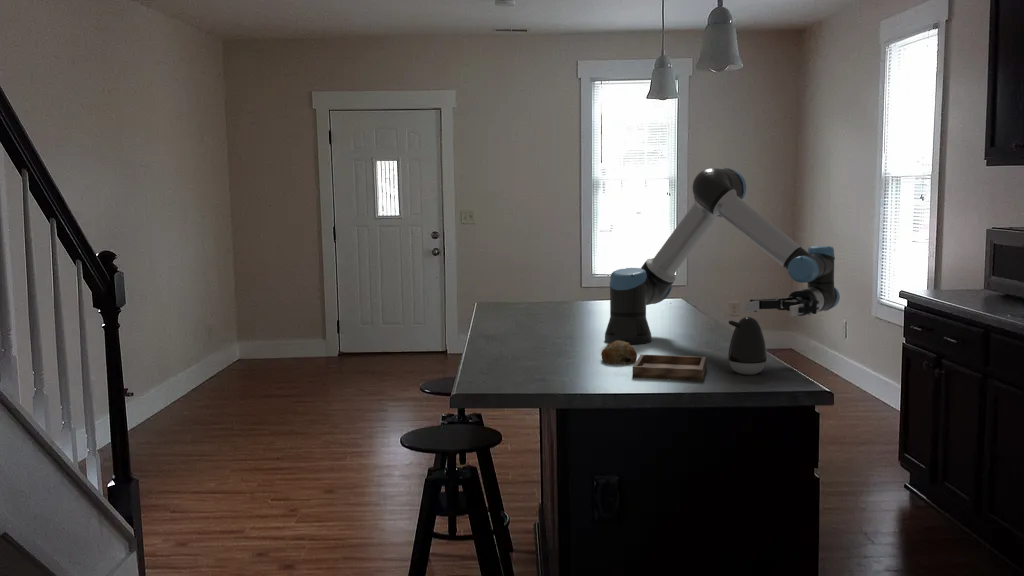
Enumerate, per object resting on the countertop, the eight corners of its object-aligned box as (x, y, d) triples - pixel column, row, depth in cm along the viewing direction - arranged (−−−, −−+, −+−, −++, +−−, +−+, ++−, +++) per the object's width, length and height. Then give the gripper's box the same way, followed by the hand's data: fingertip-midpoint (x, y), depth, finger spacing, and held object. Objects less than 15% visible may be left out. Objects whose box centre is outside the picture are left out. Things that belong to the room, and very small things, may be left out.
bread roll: (609, 377, 251) (616, 354, 247) (592, 357, 259) (598, 334, 255) (638, 373, 256) (645, 351, 252) (620, 353, 263) (627, 331, 259)
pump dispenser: (721, 369, 242) (722, 314, 241) (758, 368, 243) (759, 313, 241) (734, 377, 232) (735, 320, 230) (772, 376, 233) (773, 319, 231)
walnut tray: (632, 377, 233) (632, 366, 232) (640, 364, 250) (640, 354, 250) (702, 381, 228) (702, 369, 228) (705, 367, 245) (706, 356, 245)
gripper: (846, 317, 249) (810, 326, 234) (766, 311, 266) (728, 319, 252) (846, 291, 248) (811, 298, 233) (766, 286, 266) (728, 293, 251)
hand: (768, 309), depth 242 cm, fingers open, 13 cm apart
